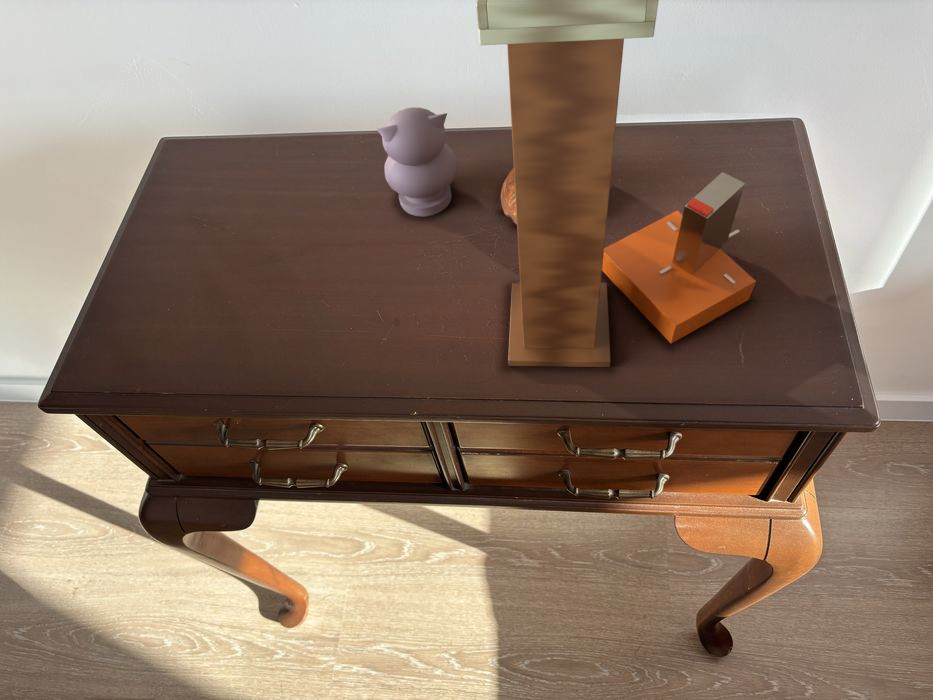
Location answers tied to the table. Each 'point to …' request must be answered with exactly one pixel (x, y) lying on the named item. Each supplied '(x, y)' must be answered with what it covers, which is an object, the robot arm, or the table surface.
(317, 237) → the table surface
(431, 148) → the cat figurine
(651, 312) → the orange flat square block
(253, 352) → the table surface
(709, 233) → the steel brick red tip
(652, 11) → the brown wooden square column
